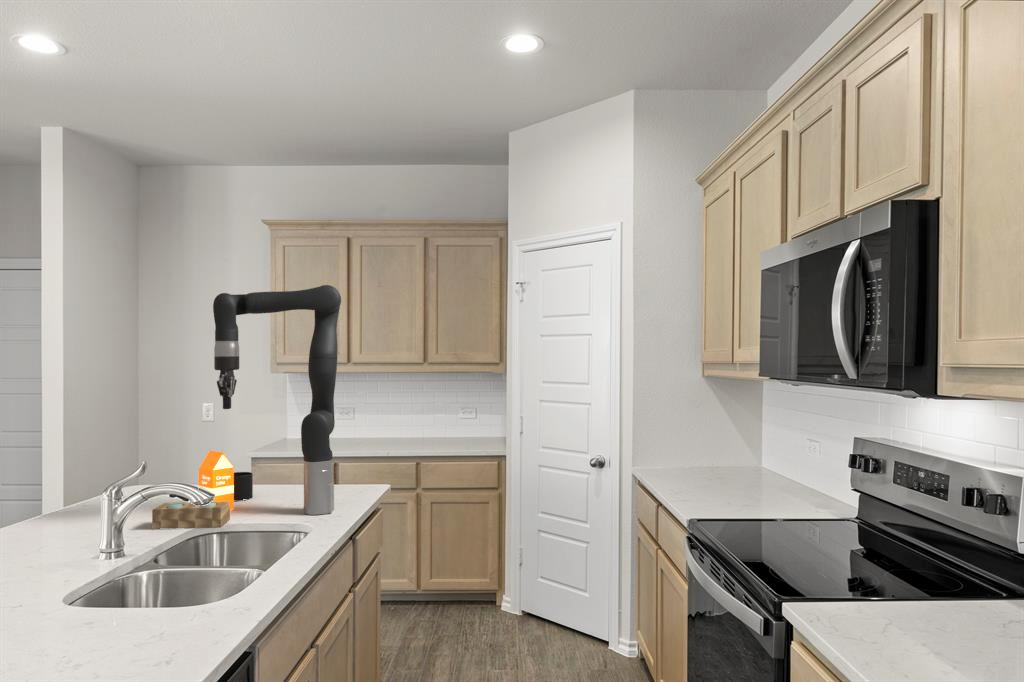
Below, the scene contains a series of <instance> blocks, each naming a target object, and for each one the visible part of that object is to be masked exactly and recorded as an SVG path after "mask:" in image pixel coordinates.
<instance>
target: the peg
mask: <svg viewBox="0 0 1024 682" xmlns="http://www.w3.org/2000/svg"><path fill="white" fill-rule="evenodd" d="M175 507H182V504H171V505H168V508H175Z"/></svg>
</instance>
